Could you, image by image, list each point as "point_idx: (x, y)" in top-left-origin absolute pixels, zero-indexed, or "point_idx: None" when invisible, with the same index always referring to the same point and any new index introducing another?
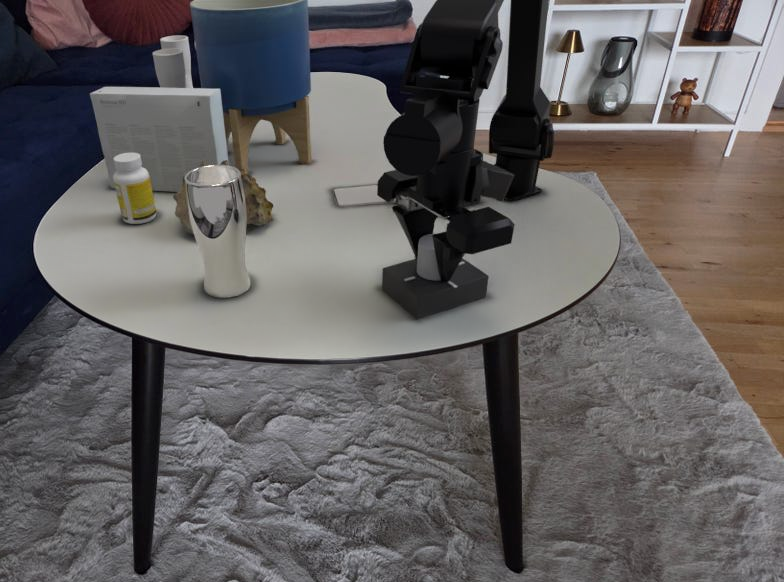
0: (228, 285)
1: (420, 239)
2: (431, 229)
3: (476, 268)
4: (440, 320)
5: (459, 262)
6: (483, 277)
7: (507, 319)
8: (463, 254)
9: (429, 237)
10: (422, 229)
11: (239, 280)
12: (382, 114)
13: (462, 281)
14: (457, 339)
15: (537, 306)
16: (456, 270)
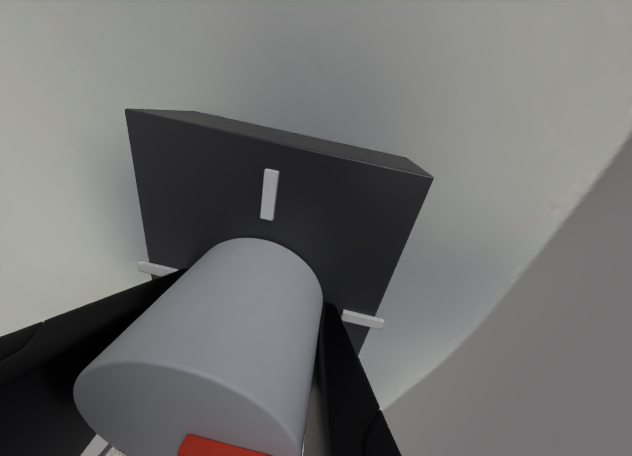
0: (108, 451)
1: (122, 451)
2: (17, 389)
3: (346, 164)
4: (379, 316)
5: (367, 381)
6: (420, 204)
7: (533, 209)
8: (394, 449)
9: (116, 424)
10: (22, 450)
11: (100, 446)
12: None
13: (372, 283)
14: (454, 343)
15: (622, 46)
16: (300, 239)
